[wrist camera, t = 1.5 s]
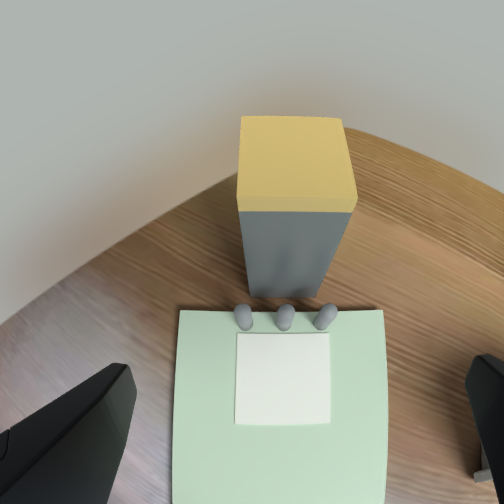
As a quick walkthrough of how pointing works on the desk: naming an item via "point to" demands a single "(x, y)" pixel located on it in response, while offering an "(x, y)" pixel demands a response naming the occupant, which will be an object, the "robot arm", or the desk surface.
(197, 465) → the board
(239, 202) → the plug block
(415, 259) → the desk surface
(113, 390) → the robot arm
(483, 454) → the electrical switch
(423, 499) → the desk surface
